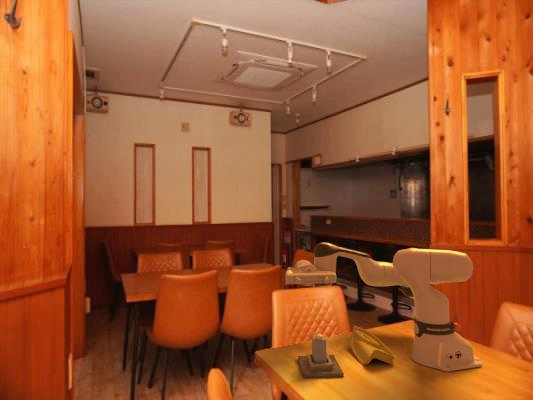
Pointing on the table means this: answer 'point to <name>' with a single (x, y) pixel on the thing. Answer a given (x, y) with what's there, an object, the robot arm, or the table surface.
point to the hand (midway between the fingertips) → (313, 281)
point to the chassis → (319, 367)
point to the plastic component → (369, 347)
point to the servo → (319, 349)
